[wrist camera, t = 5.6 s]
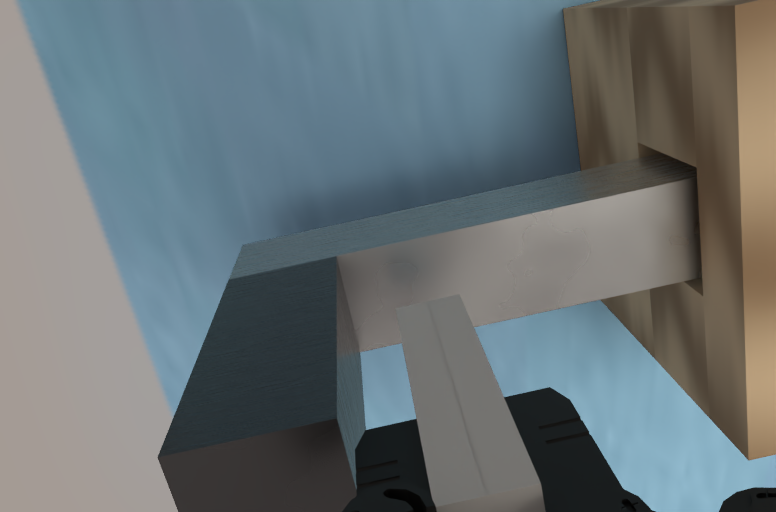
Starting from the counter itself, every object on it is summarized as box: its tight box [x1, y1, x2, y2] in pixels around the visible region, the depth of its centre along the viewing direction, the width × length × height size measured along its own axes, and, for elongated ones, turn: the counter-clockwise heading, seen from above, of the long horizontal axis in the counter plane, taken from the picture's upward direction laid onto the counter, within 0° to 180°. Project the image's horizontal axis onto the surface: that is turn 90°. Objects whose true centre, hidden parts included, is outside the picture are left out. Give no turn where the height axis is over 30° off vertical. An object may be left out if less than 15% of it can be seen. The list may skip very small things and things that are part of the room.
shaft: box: [158, 153, 702, 512], centre depth 17 cm, size 3×25×11 cm, turn 102°
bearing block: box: [563, 0, 776, 460], centre depth 23 cm, size 12×8×12 cm, turn 12°
